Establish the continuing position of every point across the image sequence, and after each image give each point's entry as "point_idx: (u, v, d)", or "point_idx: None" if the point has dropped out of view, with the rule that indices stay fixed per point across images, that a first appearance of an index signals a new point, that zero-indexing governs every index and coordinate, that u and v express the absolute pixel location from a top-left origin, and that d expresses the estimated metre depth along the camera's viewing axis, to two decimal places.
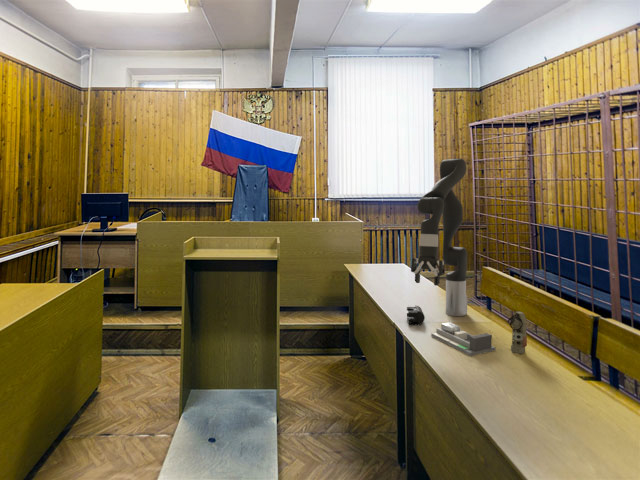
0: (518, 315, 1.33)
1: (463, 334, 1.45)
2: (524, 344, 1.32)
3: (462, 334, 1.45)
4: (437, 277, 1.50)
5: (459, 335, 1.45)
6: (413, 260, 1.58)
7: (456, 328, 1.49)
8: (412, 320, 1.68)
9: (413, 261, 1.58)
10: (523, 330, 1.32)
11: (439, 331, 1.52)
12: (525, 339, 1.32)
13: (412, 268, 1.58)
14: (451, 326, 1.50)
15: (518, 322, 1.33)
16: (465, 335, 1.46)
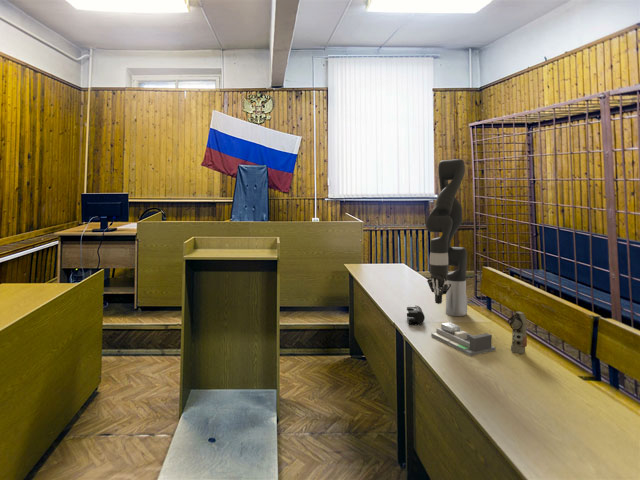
0: (518, 315, 1.33)
1: (463, 334, 1.45)
2: (524, 344, 1.32)
3: (462, 334, 1.45)
4: (439, 296, 1.56)
5: (459, 335, 1.45)
6: (428, 281, 1.61)
7: (456, 328, 1.49)
8: (412, 320, 1.68)
9: (429, 282, 1.61)
10: (523, 330, 1.32)
11: (439, 331, 1.52)
12: (525, 339, 1.32)
13: (431, 288, 1.59)
14: (451, 326, 1.50)
15: (518, 322, 1.33)
16: (465, 335, 1.46)
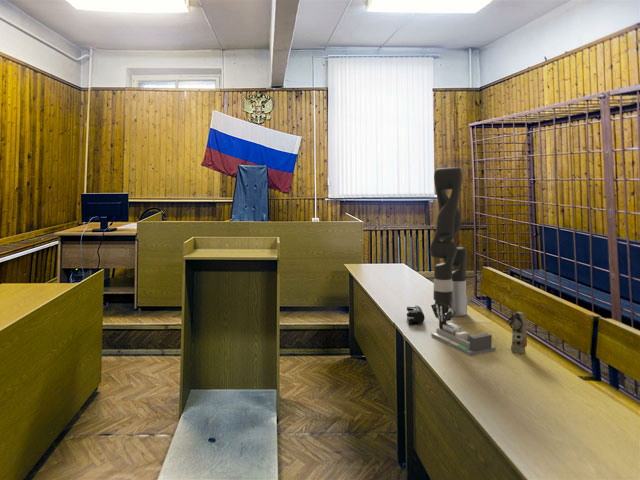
0: (518, 315, 1.33)
1: (464, 334, 1.45)
2: (524, 344, 1.32)
3: (463, 334, 1.45)
4: (443, 322, 1.54)
5: (460, 335, 1.44)
6: (432, 306, 1.59)
7: (458, 329, 1.48)
8: (412, 320, 1.68)
9: (433, 307, 1.59)
10: (523, 330, 1.32)
11: (439, 331, 1.52)
12: (525, 339, 1.32)
13: (435, 314, 1.58)
14: (453, 327, 1.49)
15: (518, 322, 1.33)
16: (466, 335, 1.45)
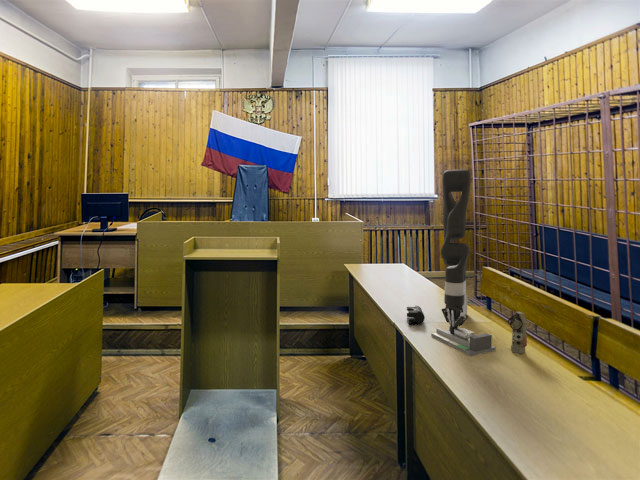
0: (518, 315, 1.33)
1: None
2: (524, 344, 1.32)
3: None
4: (454, 327, 1.48)
5: None
6: (443, 310, 1.53)
7: (470, 334, 1.42)
8: (412, 320, 1.68)
9: (443, 311, 1.53)
10: (523, 330, 1.32)
11: (439, 331, 1.52)
12: (525, 339, 1.32)
13: (446, 318, 1.51)
14: (465, 332, 1.43)
15: (518, 322, 1.33)
16: None
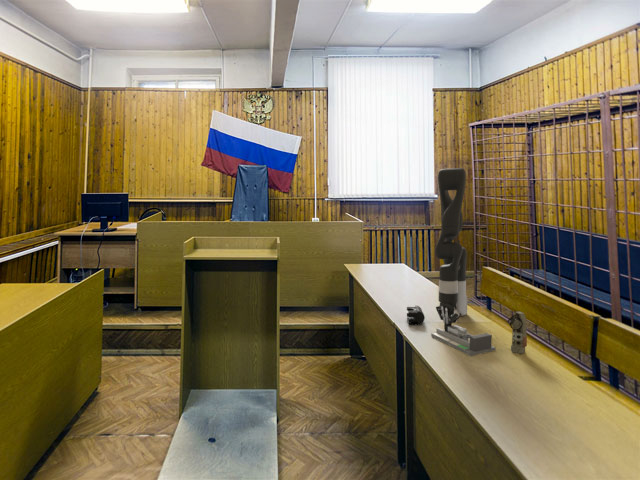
0: (518, 315, 1.33)
1: None
2: (524, 344, 1.32)
3: None
4: (448, 324, 1.52)
5: None
6: (437, 308, 1.57)
7: (463, 331, 1.45)
8: (412, 320, 1.68)
9: (437, 309, 1.57)
10: (523, 330, 1.32)
11: (439, 331, 1.52)
12: (525, 339, 1.32)
13: (440, 316, 1.55)
14: (458, 329, 1.46)
15: (518, 322, 1.33)
16: None
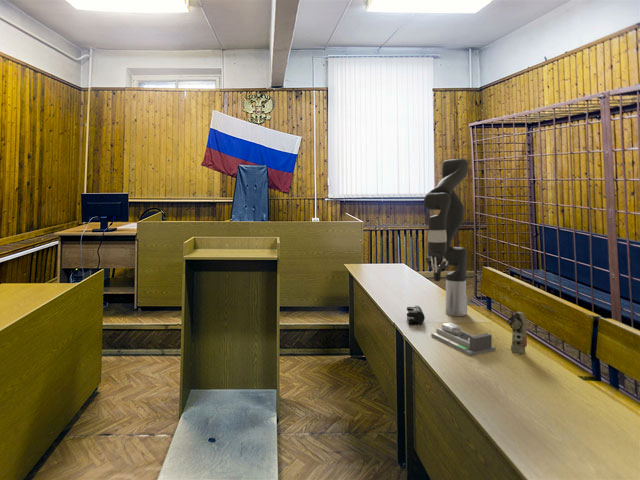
0: (518, 315, 1.33)
1: None
2: (524, 344, 1.32)
3: None
4: (437, 273, 1.56)
5: None
6: (427, 259, 1.61)
7: (457, 328, 1.48)
8: (412, 320, 1.68)
9: (427, 260, 1.61)
10: (523, 330, 1.32)
11: (439, 331, 1.52)
12: (525, 339, 1.32)
13: (430, 266, 1.59)
14: (452, 326, 1.49)
15: (518, 322, 1.33)
16: None
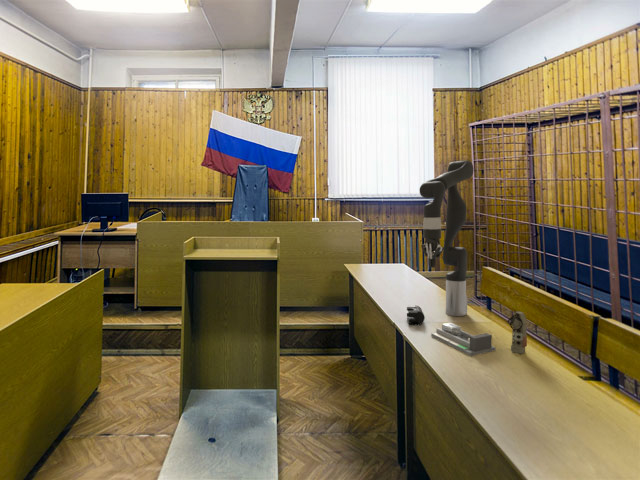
0: (518, 315, 1.33)
1: None
2: (524, 344, 1.32)
3: None
4: (432, 259, 1.62)
5: None
6: (422, 246, 1.67)
7: (457, 328, 1.48)
8: (412, 320, 1.68)
9: (423, 247, 1.67)
10: (523, 330, 1.32)
11: (439, 331, 1.52)
12: (525, 339, 1.32)
13: (425, 253, 1.65)
14: (452, 326, 1.49)
15: (518, 322, 1.33)
16: None
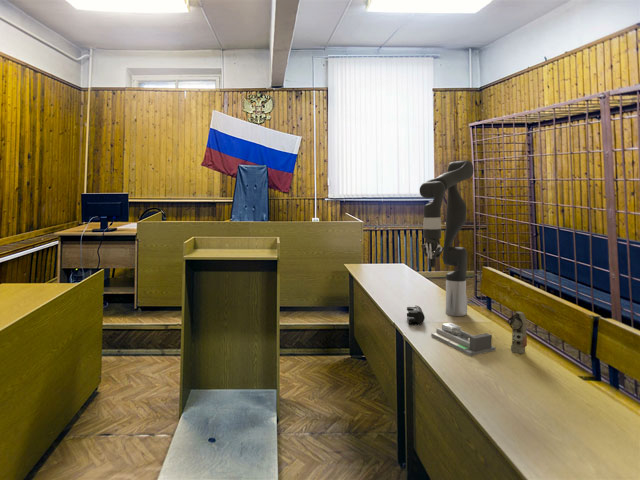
0: (518, 315, 1.33)
1: None
2: (524, 344, 1.32)
3: None
4: (432, 259, 1.62)
5: None
6: (422, 246, 1.67)
7: (457, 328, 1.48)
8: (412, 320, 1.68)
9: (423, 247, 1.67)
10: (523, 330, 1.32)
11: (439, 331, 1.52)
12: (525, 339, 1.32)
13: (425, 253, 1.65)
14: (452, 326, 1.49)
15: (518, 322, 1.33)
16: None
